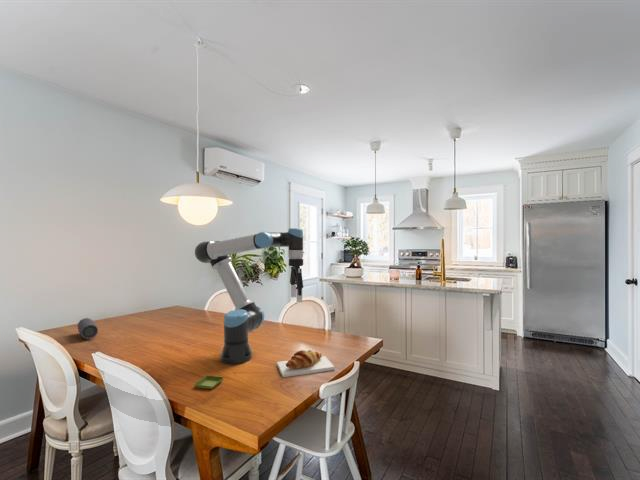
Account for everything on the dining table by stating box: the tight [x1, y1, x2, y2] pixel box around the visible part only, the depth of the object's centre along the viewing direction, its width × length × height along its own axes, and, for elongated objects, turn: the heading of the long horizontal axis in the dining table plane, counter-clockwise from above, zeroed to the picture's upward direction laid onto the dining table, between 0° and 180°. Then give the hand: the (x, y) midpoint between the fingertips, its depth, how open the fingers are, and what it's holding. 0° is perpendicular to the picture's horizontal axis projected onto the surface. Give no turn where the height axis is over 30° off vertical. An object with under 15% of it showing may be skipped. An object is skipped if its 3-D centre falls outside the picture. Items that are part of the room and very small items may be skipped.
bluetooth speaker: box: [77, 317, 99, 340], centre depth 199 cm, size 23×9×10 cm, turn 42°
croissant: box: [286, 349, 323, 369], centre depth 148 cm, size 21×10×8 cm, turn 134°
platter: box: [276, 355, 336, 378], centre depth 148 cm, size 24×14×2 cm, turn 107°
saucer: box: [193, 374, 225, 390], centre depth 131 cm, size 9×9×2 cm
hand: (296, 299), depth 164 cm, fingers open, 13 cm apart
